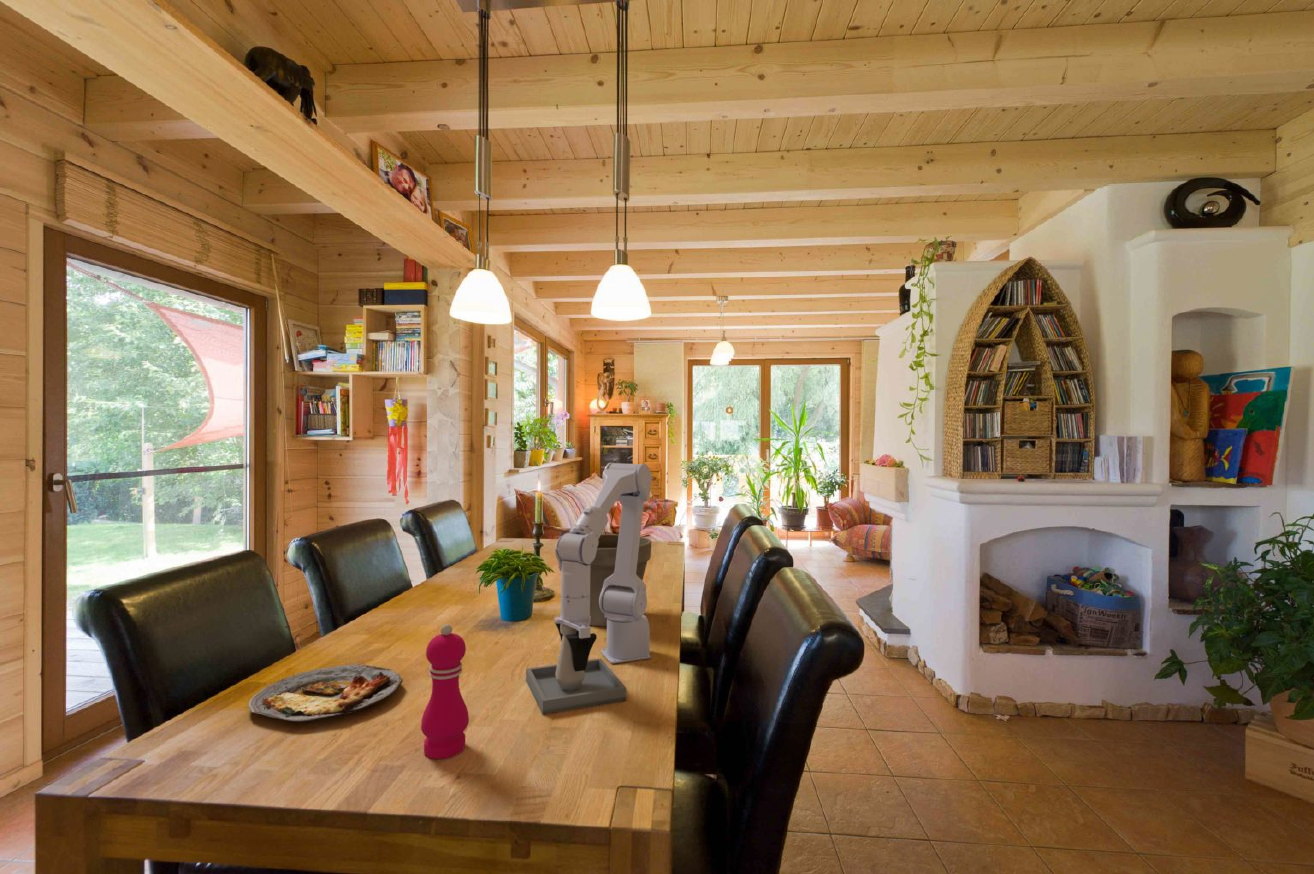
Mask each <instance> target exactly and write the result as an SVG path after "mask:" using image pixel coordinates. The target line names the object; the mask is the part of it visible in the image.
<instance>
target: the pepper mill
mask: <svg viewBox="0 0 1314 874" xmlns="http://www.w3.org/2000/svg"><path fill="white" fill-rule="evenodd" d="M466 646H467V645H466V642H465V640H464V639H463V637H462V636H461V635H459V634H456V633H454V632H453V627H452V626H451V625H450V624H448V623H447V624H444V625H442V626H441V627H440V633H439V634H437V635H435V636H433V638H431V639H430V641H429V642H428V643H427V646H426V649H425V656H426V659H427V661H428V662H429V664H430V665H429V667H428V668H429V673H428V676H429V677H430V678H431V684H432V687H431V695H430V698H429V700H428V703H427V705H426V707H425V709H424V711H423V714H422V717H421V723H420V731H421V732H422V734H423V735H424V736H425V738H424V741H423V753H424V755H425V756H426V757H427V758H430V759H434V760H443V759H449V758H452V757H455V756H457V755H459V754H460V753H462V752H463V751H464V750H465V748H466V733H465V730H466V729H467V728H468V725H469V719H470V718H469V711H468V707H467V705H466V701H464V698H463V696H462V693H461V690H460V682H459V681H460V675H461V674H462V673H463V663H462V659H463V658H464V657H465V655H466V650H467V647H466Z"/></svg>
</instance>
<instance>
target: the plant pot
mask: <svg viewBox="0 0 1314 874" xmlns="http://www.w3.org/2000/svg"><path fill="white" fill-rule="evenodd" d="M618 537H619V533H617V534H616V533H614V534H613V533H610V534H609V533H608V534H607V533H602V534H601V535H600V537H599V539H598V541H599V543H598V546H597V552H596V556H595V559H594V560H593V561H592V562H591V563H590V616H591V621H590V626H594V627H607V618H605V617H604V613H603V612H602V611H601V609H600V606H599V597H600V594H601V591H602V588H603V584H604V580H605V579H607V578H608V577H609V576H611V575H612V574H613V573H614V571H615V563H616V554H617V546H618ZM651 556H652V540H651V539H650V538H648V537H644V536H640V543H639V552H638V561H637V570H636V575H637V576H638V577H639V578H640V579H641V580H642V581H643V580H644V576H645V573H646V568H647V564H648V561H650V559H651ZM616 587H619V588H627V589H632V588H631V587H627V586H619V585H617V586H616Z"/></svg>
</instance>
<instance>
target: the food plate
mask: <svg viewBox="0 0 1314 874" xmlns="http://www.w3.org/2000/svg"><path fill="white" fill-rule="evenodd" d="M333 682H337V683H339V685H338V684H334V683H333ZM344 682H349V684H348V685H346V684H344ZM401 684H403V678H402V677H401V675H400V673H397V672H396V671H394V670H393V669H390V668H386V667H381V666H380V667H377V666H374V665H368V664H367V665H366V664H363V665H362V664H360V663H359V664H346V665H345V664H343V665H337V666H332V667H326V668H318V669H317V668H316V669H312V670H308V671H304V672H301V673H296V674H292V676H291V675H290V676H287V677H285V678H282V679H279V680H278V681H276V682H274V683H272V684H269V685H267V686H265V687H263V688H262V689H261V690H259V692H257V693H256V694H254V695H253V696H252V697H251V698H250V699H249V702H248V708H249V709H250V712H251V713H254V714H257V715H262V716H266V717H269V718H274V719H278V720H279V719H280V720H285V721H289V722H299V723H300V722H305V723H308V722H314V721H319V720H325V719H331V718H335V717H342V716H345V715H348V714H350V713H355V712H359V711H361V710H364V709H365V708H367V707H370V706H371V705H374V704H376V703H378V702H380V701H382V700H384V699H387V698H389V697H390V696H392V695H393V694H394V693H396V692H397V691H398V689H399V686H401ZM300 691H301V692H302V693H304V694H308V695H303V694H298V693H297V692H300ZM296 693H297V694H296Z"/></svg>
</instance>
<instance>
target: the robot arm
mask: <svg viewBox="0 0 1314 874" xmlns="http://www.w3.org/2000/svg"><path fill="white" fill-rule="evenodd" d="M652 479H653V478H652V473H651V470H650V468H649V466H648V465H647V464H646V463H640V464H639V463H620V462H619V463H618V462H608V463H607V464H606V466H605V467H604V470H603V471H602V485H601V488H600V490H599V491H598V493H597V495H596V497H595V499H594V502H593V504H592V506H586V507H585V508H584V509H583V511H582V512H581V513H580V515H579V516H578V518H577V520H576V521H575V522H574V524H573V526H572V527H571V529H570V530H569V532H566V533H564V534H563V535H561V536H560V537H559V538H558V540H557V543H556V546H555V547H556V548H555V549H554V553H555V556H556V559H557V563H558V569H559V571H560V573H561V574H560V575H561V576H560V584H561V585H560V614H559V616H555V617H554V624H555V627H556V628H557V630H558V633H559V636H560V637H559V638H560V641H561V643H562V637H563V634H561V632H560V625H561V623H562V624H564V625H567V626H569V627H571V628H574V629H576V630H577V631H576V634H568V635H566V638H567V640H568V642H569V645H570V648H571V653H572V662H573V668H574V671H575V672H576V671H583V670H585V669H586V666H587V662H588V660H589V657H590V653H591V650H592V648H593V646H594V644H595V642H596V640H597V634H596V633H595V632H591V625H590V621H591V616H590V563H591V562H592V561H593V560H594V559H595V556H596V552H597V546H598V543H599V541H598V539H599V537H600V535H601V534H603V532H604V530H605V529H606V527H607V525H608V523H609V518H608V513H609V512H610V510H611V509H612V508H613V506H614V505H615V504H616V502H617V501H619V503H621V512H620V513H621V514H620V521H619V522H620V523H619V528H618V529H619V530H618V534H619V537H618V546H617V554H616V563H615V571H614V573H613V574H612V575H611V576H609V577H608V578H607V579H605V580H604V584H603V588H602V591H601V594H600V597H599V606H600V609H601V611H602V612H603V613H604V617H605V618H607V626H606V648H605V649H601V650H600V653H601V654H602V655H603V656H604V658H606V659H607V661H608V662H609V663H610V664H618V663H619V664H621V663H625V662H626V663H627V662H634V661H640V660H647V659H651V654H650V642H651V641H650V639H651V638H650V636H651V635H650V634H651V631H650V622H649V620H648V617H647V616H646V615H644V614H645V612H646V609H647V603H648V598H647V584H646V583H645V582H644V581H643V580H641V579H640V578H639V577H638V576H637V575H636V570H637V561H638V552H639V543H640V537H641V532H642V524H643V523H642V522H643V516H644V515H643V513H644V507H645V505H644V504H645V503H646V502H648V501H649V500H650V495H651V488H652ZM617 585H619V586H627V587H631V588H632V589H627V588H619V587H616V586H617Z"/></svg>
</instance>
